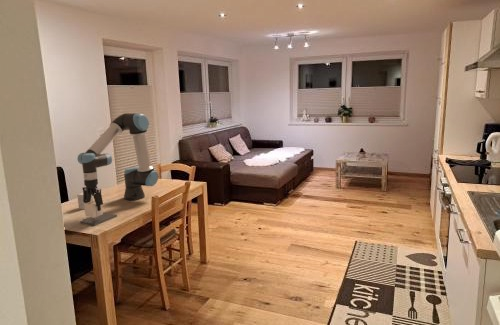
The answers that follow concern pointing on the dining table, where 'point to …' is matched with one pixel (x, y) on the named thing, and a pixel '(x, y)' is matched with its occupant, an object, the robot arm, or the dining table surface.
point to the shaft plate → (98, 219)
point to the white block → (91, 209)
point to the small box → (80, 201)
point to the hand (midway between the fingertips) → (94, 214)
